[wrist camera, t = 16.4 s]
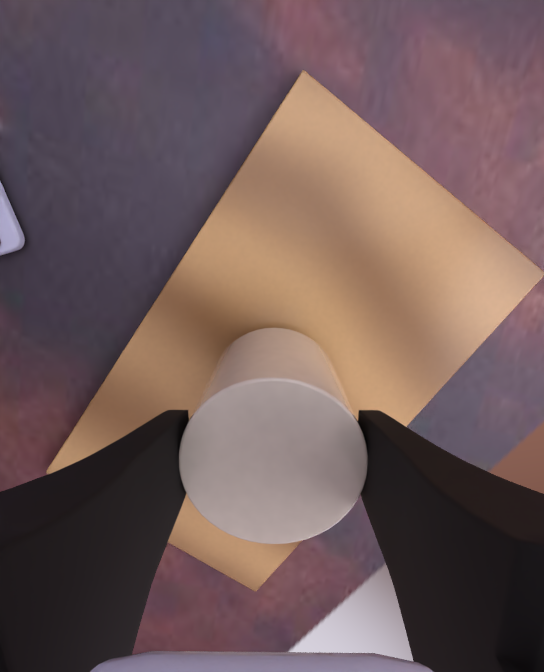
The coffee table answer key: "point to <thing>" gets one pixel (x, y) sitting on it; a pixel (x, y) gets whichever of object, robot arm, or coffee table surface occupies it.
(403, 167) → the mat
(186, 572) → the coffee table surface
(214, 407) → the canister
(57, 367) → the coffee table surface
